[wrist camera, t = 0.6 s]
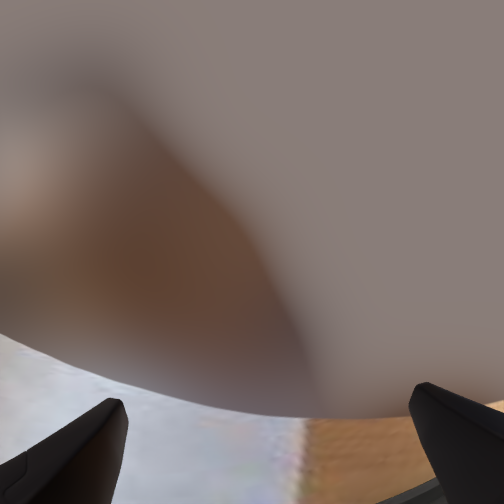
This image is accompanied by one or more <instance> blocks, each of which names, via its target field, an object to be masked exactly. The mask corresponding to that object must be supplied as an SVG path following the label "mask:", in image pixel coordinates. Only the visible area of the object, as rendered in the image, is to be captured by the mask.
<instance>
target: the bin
mask: <svg viewBox="0 0 504 504" xmlns="http://www.w3.org/2000/svg"><path fill="white" fill-rule="evenodd" d="M376 504H448V502H447V500H446V498H445V495H444V493H443V491H442V488H441V486H440V484H439V481H438V479H437V477H435V478H434V479H432V480H430V481H428V482H426V483H424V484H421V485H419V486H417V487H415V488H413V489H411V490H408V491H406V492H404V493H401V494H399V495H397V496H394V497H392V498H389V499H387V500H384V501H381V502H379V503H376Z"/></svg>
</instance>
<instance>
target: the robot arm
mask: <svg viewBox="0 0 504 504" xmlns="http://www.w3.org/2000/svg"><path fill="white" fill-rule="evenodd" d="M409 411H410V414H411V417H412V419H413V422H414V425H415V428H416V430H417V433H418V436H419V439H420V442H421V444H422V447H423V449H424V451H425V453H426V455H427V457H428V459H429V462H430V464H431V466H432V468H433V470H434V473H435V475H436V477H437V479H438V481H439V484H440V486H441V488H442V491H443V493H444V495H445V498H446V500H447V502H448V504H504V413H503V412H500V411H498V410H495V409H492V408H490V407H487V406H485V405H482V404H480V403H477V402H474V401H472V400H470V399H467V398H464V397H462V396H460V395H457V394H455V393H452V392H450V391H448V390H445V389H443V388H441V387H438V386H436V385H434V384H431V383H429V382H424V383H421V384H418V385H416V387H415V388H414V391H413V394H412V396H411V399H410V402H409ZM127 430H128V417H127V414H126V411H125V408H124V405H123V402H122V401H121V400H120V399H114V398H107V399H106V400H104V401H103V402H101V403H100V404H98V405H97V406H95V407H94V408H92V409H91V410H89V411H88V412H86V413H84V414H83V415H81V416H80V417H78V418H77V419H75V420H74V421H72V422H71V423H69V424H68V425H66V426H65V427H63V428H61V429H60V430H58V431H57V432H55V433H54V434H52V435H50V436H49V437H47V438H46V439H44V440H42V441H41V442H39V443H38V444H36V445H34V446H33V447H31V448H30V449H28V450H27V451H24V452H23V453H21V454H20V455H18V456H16V457H14V458H13V459H11V460H9V461H7V462H5V463H3V464H1V465H0V504H111V501H112V498H113V494H114V490H115V487H116V483H117V480H118V476H119V473H120V469H121V465H122V460H123V454H124V447H125V442H126V436H127Z"/></svg>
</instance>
